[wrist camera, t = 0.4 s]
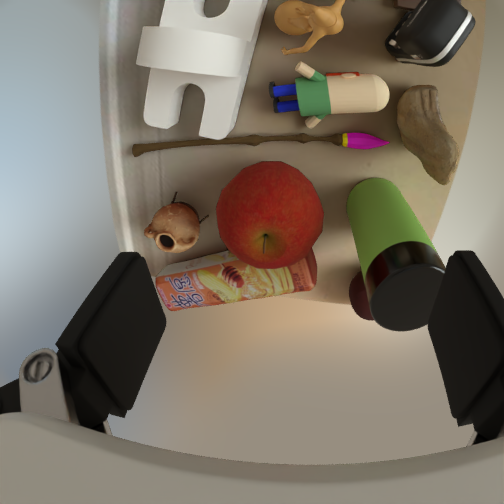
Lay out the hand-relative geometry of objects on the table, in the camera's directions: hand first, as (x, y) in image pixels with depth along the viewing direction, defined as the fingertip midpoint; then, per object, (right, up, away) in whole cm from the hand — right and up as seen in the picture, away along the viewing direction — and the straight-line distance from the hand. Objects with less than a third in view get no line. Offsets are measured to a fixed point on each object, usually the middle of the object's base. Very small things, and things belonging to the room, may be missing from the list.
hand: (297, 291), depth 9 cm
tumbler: (+14, +7, +27) cm, 31 cm away
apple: (+1, +9, +28) cm, 29 cm away
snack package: (-13, +1, +30) cm, 33 cm away
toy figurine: (+7, +18, +21) cm, 28 cm away
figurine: (+4, +25, +17) cm, 30 cm away
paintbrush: (-16, +14, +26) cm, 33 cm away
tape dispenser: (-6, +23, +20) cm, 31 cm away
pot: (-10, +7, +31) cm, 34 cm away
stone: (+16, +16, +21) cm, 31 cm away
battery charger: (+15, +25, +15) cm, 33 cm away
